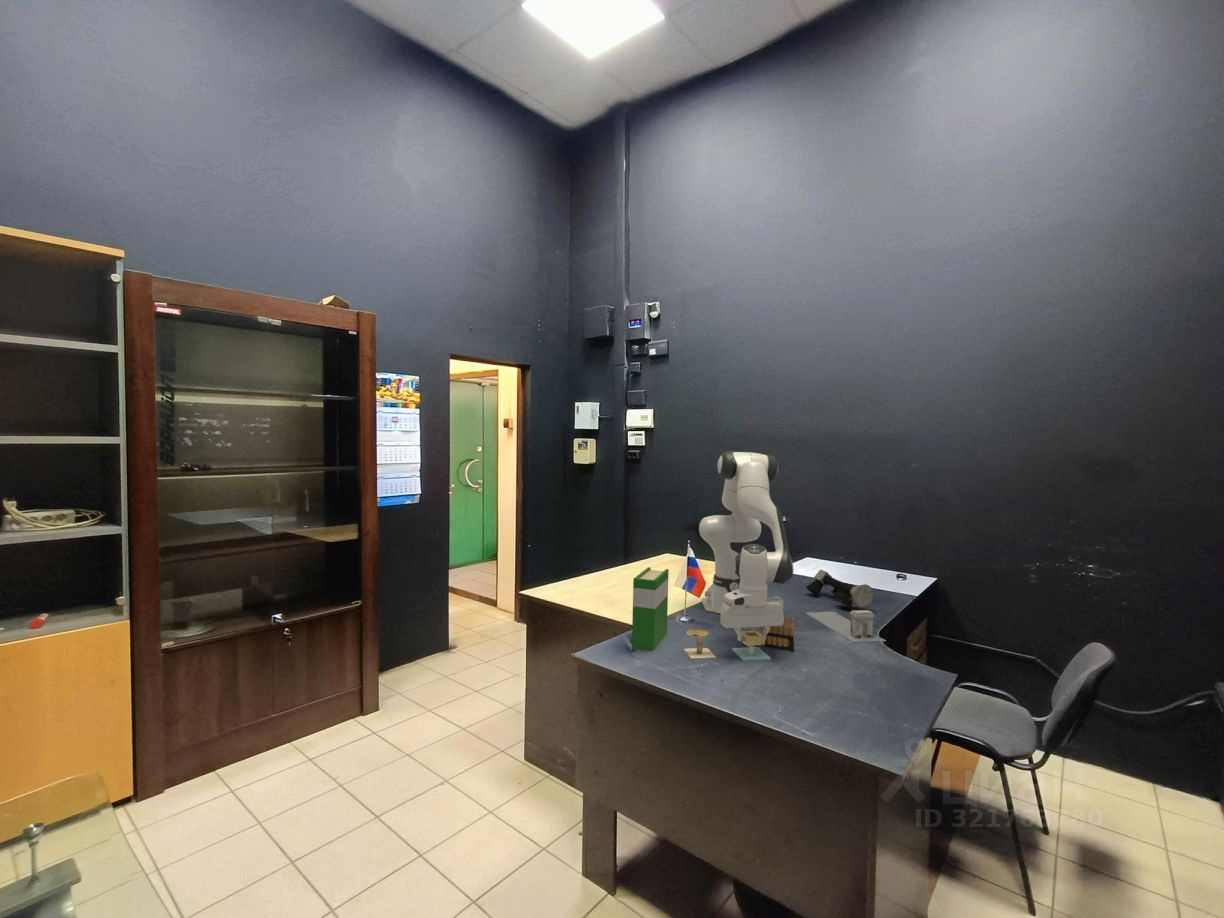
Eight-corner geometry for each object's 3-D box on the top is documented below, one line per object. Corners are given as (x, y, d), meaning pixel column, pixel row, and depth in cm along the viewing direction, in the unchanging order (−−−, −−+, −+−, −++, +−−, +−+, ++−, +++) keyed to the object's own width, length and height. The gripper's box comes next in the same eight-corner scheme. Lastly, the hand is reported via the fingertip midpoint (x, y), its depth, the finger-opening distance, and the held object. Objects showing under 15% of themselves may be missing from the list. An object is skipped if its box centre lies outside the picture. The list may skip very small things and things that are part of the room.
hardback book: (646, 634, 197) (648, 567, 196) (666, 637, 194) (668, 569, 193) (631, 652, 180) (633, 578, 179) (653, 655, 178) (655, 580, 177)
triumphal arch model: (853, 644, 193) (854, 616, 193) (805, 614, 226) (805, 590, 225) (886, 642, 195) (887, 615, 195) (833, 613, 228) (834, 590, 227)
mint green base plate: (731, 654, 180) (732, 638, 180) (757, 653, 181) (758, 637, 181) (742, 665, 171) (743, 649, 171) (770, 663, 173) (770, 648, 172)
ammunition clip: (760, 646, 188) (761, 611, 187) (761, 644, 189) (762, 609, 189) (793, 651, 183) (794, 615, 183) (794, 650, 185) (795, 614, 185)
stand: (683, 653, 180) (684, 633, 180) (707, 652, 181) (707, 632, 181) (691, 663, 172) (691, 642, 172) (715, 661, 173) (716, 641, 173)
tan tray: (738, 638, 178) (739, 631, 178) (756, 638, 179) (756, 630, 179) (746, 645, 172) (746, 638, 172) (764, 644, 173) (764, 637, 173)
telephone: (867, 626, 228) (822, 603, 257) (885, 602, 230) (838, 582, 259) (844, 603, 225) (801, 583, 254) (863, 579, 227) (818, 561, 255)
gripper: (778, 593, 180) (777, 635, 181) (719, 594, 177) (717, 637, 177) (788, 598, 174) (786, 642, 175) (726, 600, 171) (725, 645, 171)
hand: (751, 640), depth 176 cm, fingers closed on tan tray, 6 cm apart
